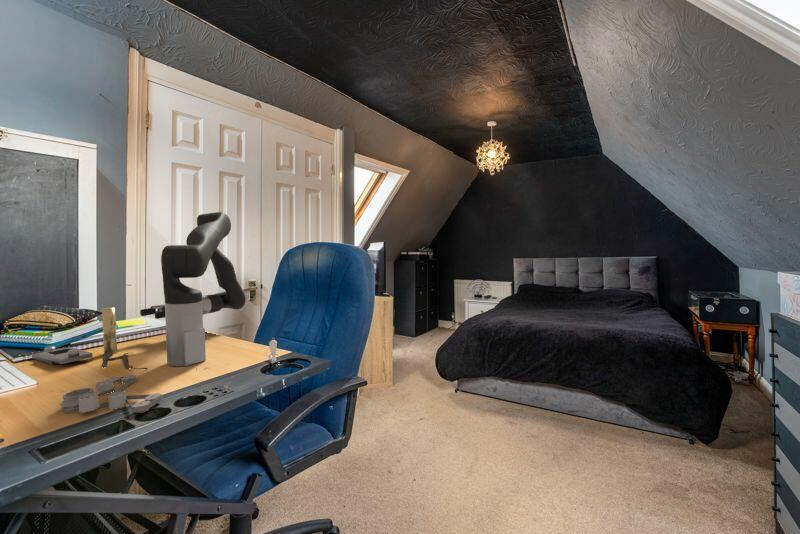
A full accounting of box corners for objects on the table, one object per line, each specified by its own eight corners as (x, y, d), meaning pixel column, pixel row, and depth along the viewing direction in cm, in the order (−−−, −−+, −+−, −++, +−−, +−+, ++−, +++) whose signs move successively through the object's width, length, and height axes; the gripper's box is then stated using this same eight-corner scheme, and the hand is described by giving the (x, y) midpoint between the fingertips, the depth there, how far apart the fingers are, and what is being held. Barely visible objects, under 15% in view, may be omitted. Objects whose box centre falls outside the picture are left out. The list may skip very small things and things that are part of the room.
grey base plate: (92, 361, 107) (92, 348, 106) (61, 368, 100) (60, 354, 100) (61, 352, 115) (61, 340, 115) (31, 358, 109) (30, 345, 109)
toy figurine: (268, 367, 102) (267, 340, 102) (257, 361, 108) (256, 335, 108) (286, 363, 106) (286, 337, 105) (274, 357, 112) (274, 333, 111)
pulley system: (73, 440, 66) (168, 407, 77) (69, 414, 66) (166, 385, 77) (53, 402, 84) (133, 380, 95) (50, 381, 84) (130, 362, 95)
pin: (119, 352, 115) (117, 307, 114) (107, 355, 112) (105, 309, 111) (113, 351, 117) (111, 306, 116) (101, 353, 114) (99, 308, 113)
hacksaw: (103, 357, 112) (103, 352, 112) (144, 351, 118) (144, 346, 118) (98, 381, 93) (98, 375, 93) (148, 372, 99) (148, 367, 99)
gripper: (182, 295, 141) (135, 301, 127) (206, 298, 135) (160, 305, 120) (182, 314, 142) (136, 322, 128) (207, 318, 135) (161, 327, 121)
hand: (148, 314), depth 124 cm, fingers open, 8 cm apart
